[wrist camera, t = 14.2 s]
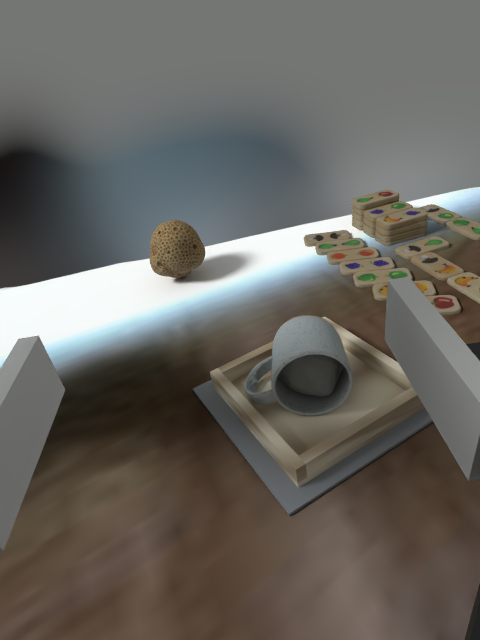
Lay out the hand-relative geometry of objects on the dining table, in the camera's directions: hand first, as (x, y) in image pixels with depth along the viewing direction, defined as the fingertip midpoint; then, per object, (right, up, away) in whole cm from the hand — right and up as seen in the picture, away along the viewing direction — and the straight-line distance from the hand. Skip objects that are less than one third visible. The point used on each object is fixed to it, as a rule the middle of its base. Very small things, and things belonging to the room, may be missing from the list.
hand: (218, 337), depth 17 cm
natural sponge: (-9, +8, +58) cm, 59 cm away
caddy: (+9, -7, +29) cm, 31 cm away
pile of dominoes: (+30, +10, +53) cm, 61 cm away
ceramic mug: (+7, -7, +29) cm, 31 cm away
